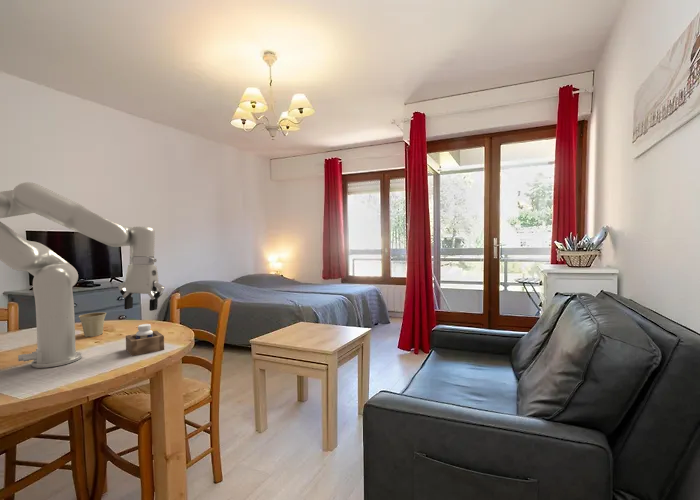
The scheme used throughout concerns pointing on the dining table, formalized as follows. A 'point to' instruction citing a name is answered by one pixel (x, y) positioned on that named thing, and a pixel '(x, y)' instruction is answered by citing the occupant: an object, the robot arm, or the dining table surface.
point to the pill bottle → (144, 331)
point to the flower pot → (92, 323)
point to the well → (144, 344)
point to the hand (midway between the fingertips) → (140, 309)
